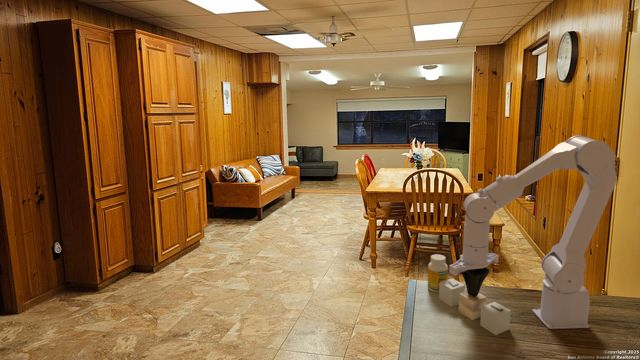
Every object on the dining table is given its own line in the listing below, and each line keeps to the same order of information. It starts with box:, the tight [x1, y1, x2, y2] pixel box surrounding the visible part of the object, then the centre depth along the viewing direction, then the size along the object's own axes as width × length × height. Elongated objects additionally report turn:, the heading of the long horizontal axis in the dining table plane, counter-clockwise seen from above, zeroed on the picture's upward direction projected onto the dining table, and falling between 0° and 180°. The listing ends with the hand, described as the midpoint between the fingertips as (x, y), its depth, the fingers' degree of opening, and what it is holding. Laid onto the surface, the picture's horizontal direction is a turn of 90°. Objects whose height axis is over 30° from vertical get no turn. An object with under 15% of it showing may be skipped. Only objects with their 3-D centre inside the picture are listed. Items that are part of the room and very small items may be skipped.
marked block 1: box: [479, 301, 512, 336], centre depth 96 cm, size 4×4×5 cm
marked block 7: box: [438, 277, 466, 307], centre depth 108 cm, size 4×4×5 cm
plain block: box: [457, 290, 487, 321], centre depth 102 cm, size 4×4×5 cm
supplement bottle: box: [427, 253, 449, 294], centre depth 114 cm, size 5×5×10 cm
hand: (472, 294), depth 101 cm, fingers closed
